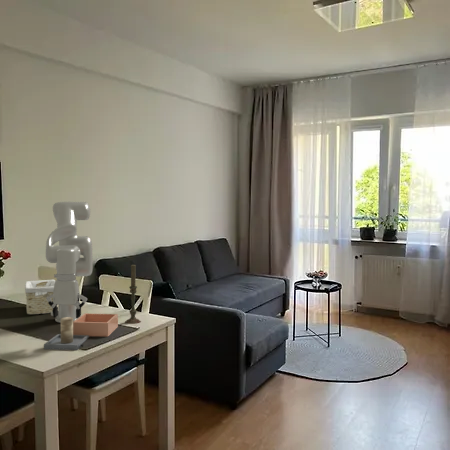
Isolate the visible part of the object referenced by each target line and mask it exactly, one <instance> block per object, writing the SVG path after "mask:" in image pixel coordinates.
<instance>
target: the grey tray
mask: <svg viewBox="0 0 450 450" xmlns="http://www.w3.org/2000/svg"><path fill="white" fill-rule="evenodd" d="M89 338H90V336H89V335H73V342H72V343H68V344H63V343H61V333H59V334H56V335H54V336H53V337H52V338H50V339H49V340H48V341H46V342H45V343H44V344H43V349H44V350H63V351H64V350H67V351H70V350H71V351H79V349H81V348H82V347H83V343H85V342H86V340H88V339H89Z"/></svg>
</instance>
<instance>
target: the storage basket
mask: <svg viewBox="0 0 450 450" xmlns="http://www.w3.org/2000/svg"><path fill="white" fill-rule="evenodd" d="M55 281H56V280H55V279H43V280H28V281H25V285H24V291H25V296H26V297H25V299H26V304H25V305H26V307H25V308H26V314H27V315H39V314H43V315H44V314H51V311H53V308H51V306H50V305H49V304H48V301H47V299H46V297H48V296H50V295H52V294H53V291H54V284H55ZM37 286H39V287H37ZM40 286H41V287H40ZM51 300H52V301H53V298H51Z"/></svg>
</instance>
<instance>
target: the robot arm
mask: <svg viewBox="0 0 450 450" xmlns="http://www.w3.org/2000/svg"><path fill="white" fill-rule="evenodd" d="M52 205H53V206H52V213H53V216H54V219H55V221H56V223H57V225H56V228H55V229H54V230H53V231H52V232H51V233H50V234H49V235H48V237H47V239H46V241H45V242H46V243H45V260H46V261H47V263H50V264H55V270H56V274H53V278H56V280H55V284H54V291H53V294H52V295H50V296H48V297H46V299H47V301H48V304H49V305H50V306H51V308H53V311H51V313H50V316H51V317H53V318H55V322H57V323H60V324H61V318H64V317H72V318H73V322H74V321H75V320H76V319H78V318H79V317H80V316H82V308H83V306H85V304H86V303H87V301H88V298H87V297H86V296H84V295H83V294H81V293H80V287H79V281H78V279H77V277H88V276H91V275H92V274H93V242H92V239H91V237H89V236H85V235H77V232H78V231H77V230H78V228H77V226H78V225H77V224H78V221H88V220H89V219H90V217H91V207H90V204H89V203H88V202H87V201H58V202H54V203H53V204H52ZM57 242H58V245H55V244H56V243H57ZM81 256H82V257H81ZM51 298H53V301H52V300H51ZM80 300H82V301H81V302H80Z"/></svg>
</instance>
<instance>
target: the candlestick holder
mask: <svg viewBox="0 0 450 450" xmlns="http://www.w3.org/2000/svg"><path fill="white" fill-rule="evenodd" d="M136 267H137V265H136V264H134V263H133V264H131V265H130V285H129V293H130V294H131V297H130V301H131V305H130V306H131V308H130V310H129V311H128V312H129V314H130V317H129V318H128V319H126V320H125V321H124V323H125V324H127V325H136V324H137V325H138V324H140V323H141V322H142V321H141V320H140V319H139V318H137V317H136V314H137V312H138V311H137V310H136V308H135V303H136V302H135V301H136V293H137V288H138V285H136V280H137V279H136V278H137V277H136V276H137V275H136Z"/></svg>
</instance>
